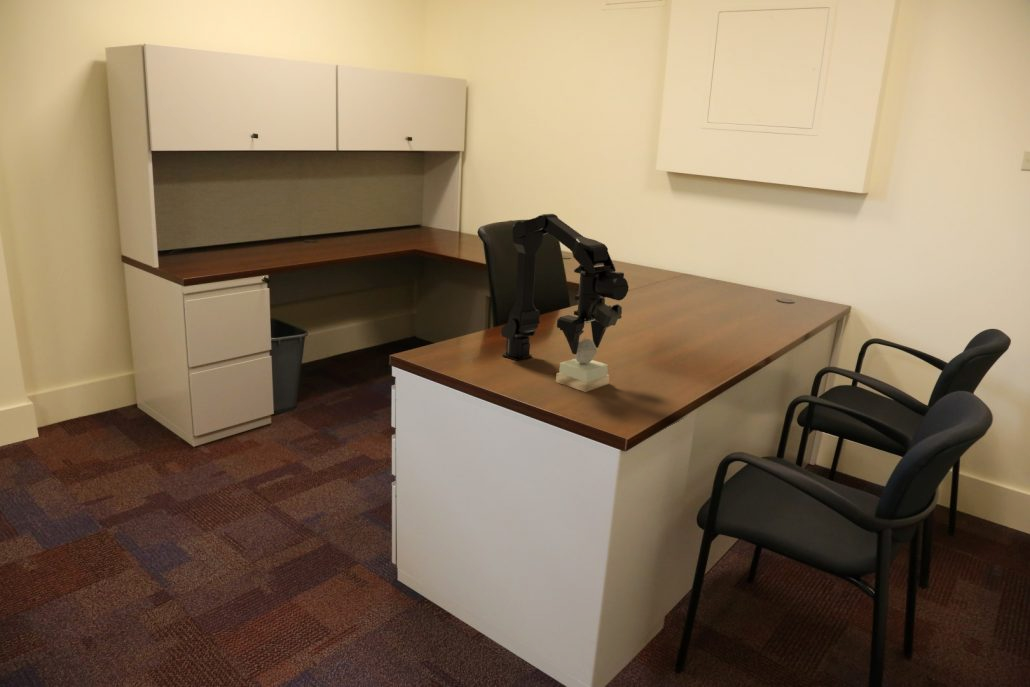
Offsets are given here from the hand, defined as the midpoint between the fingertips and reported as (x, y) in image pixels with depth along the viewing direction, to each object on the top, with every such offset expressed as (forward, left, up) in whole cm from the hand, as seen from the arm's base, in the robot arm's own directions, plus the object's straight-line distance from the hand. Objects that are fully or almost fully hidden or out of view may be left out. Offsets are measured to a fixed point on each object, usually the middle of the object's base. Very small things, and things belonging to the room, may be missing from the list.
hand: (585, 350), depth 189 cm
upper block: (0, 0, -7) cm, 7 cm away
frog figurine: (0, 0, -4) cm, 4 cm away
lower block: (0, 0, -10) cm, 10 cm away
